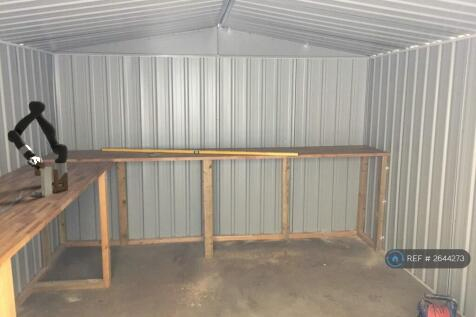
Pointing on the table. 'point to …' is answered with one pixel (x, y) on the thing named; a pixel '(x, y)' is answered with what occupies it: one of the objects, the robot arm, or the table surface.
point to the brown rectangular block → (41, 165)
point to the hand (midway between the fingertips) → (42, 169)
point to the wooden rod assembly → (63, 179)
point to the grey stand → (45, 183)
